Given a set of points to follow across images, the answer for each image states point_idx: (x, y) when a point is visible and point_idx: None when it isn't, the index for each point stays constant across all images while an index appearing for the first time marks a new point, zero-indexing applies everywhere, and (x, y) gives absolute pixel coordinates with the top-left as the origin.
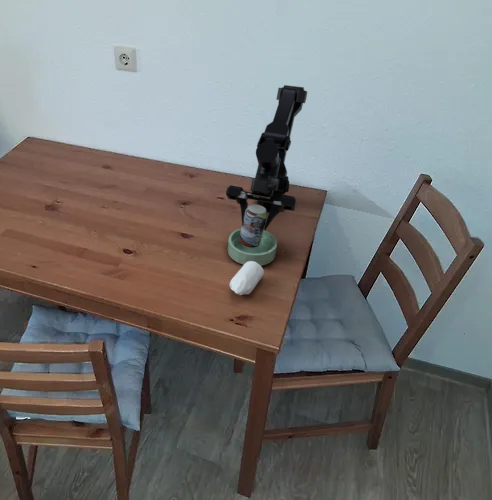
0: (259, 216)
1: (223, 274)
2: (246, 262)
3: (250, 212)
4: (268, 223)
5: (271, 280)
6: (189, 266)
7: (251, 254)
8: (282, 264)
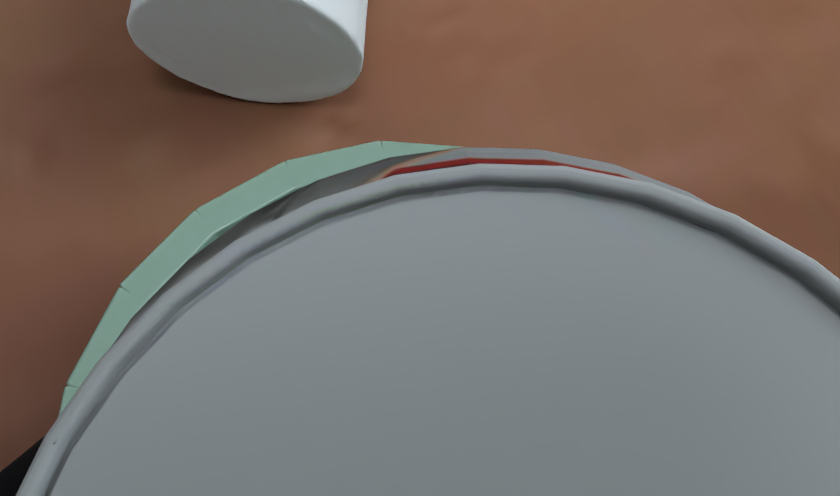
0: (234, 232)
1: (514, 37)
2: (328, 6)
3: (684, 222)
4: (10, 470)
5: (90, 137)
6: (813, 14)
7: (322, 160)
8: (25, 431)
